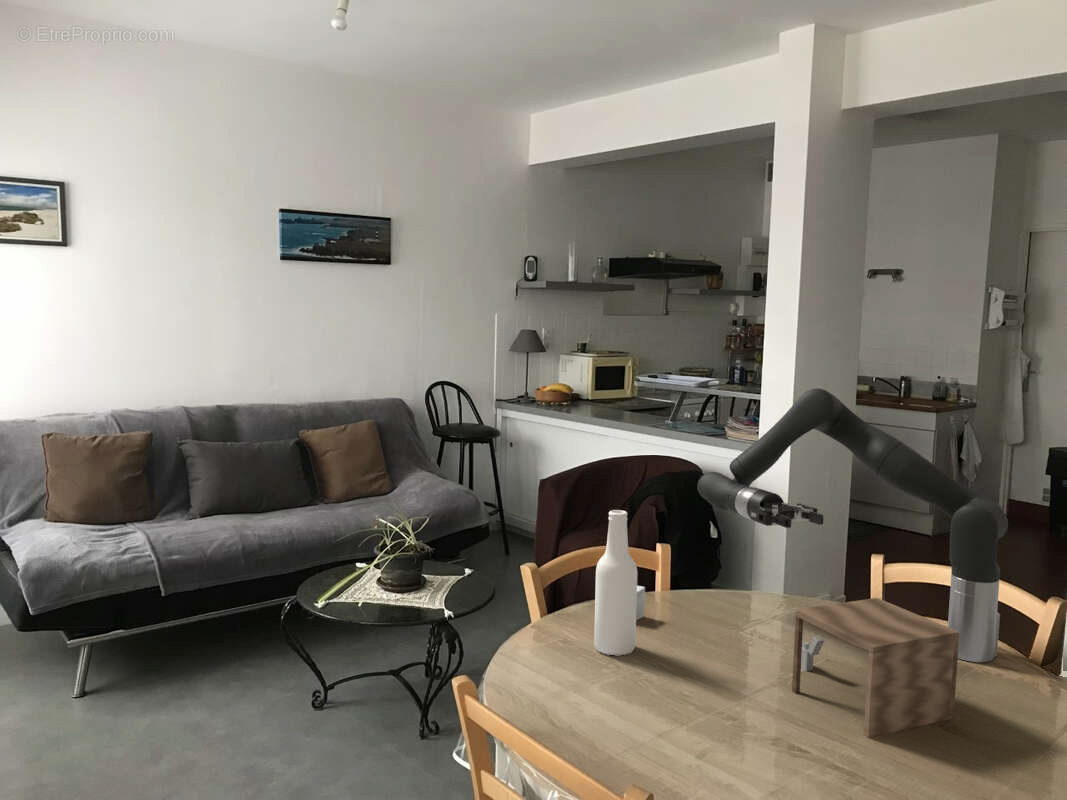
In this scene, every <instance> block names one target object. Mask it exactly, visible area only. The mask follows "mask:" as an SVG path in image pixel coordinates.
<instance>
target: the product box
mask: <svg viewBox="0 0 1067 800" xmlns="http://www.w3.org/2000/svg"><path fill="white" fill-rule="evenodd" d="M645 594H646V587H645V586H643V585H642V586H641V585H637V605H636V620H638V619H640V618H641V619H643V618H644V617H645V602H646V601H645V598H646V595H645ZM643 616H644V617H643ZM642 617H643V618H642ZM641 619H640V620H641ZM638 621H639V620H638Z"/></svg>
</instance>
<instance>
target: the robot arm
mask: <svg viewBox="0 0 1067 800" xmlns="http://www.w3.org/2000/svg"><path fill="white" fill-rule="evenodd" d="M812 430H816V431H818V432H821V433H822V434H824V435H826V436H828V437H830V438H831V439H833V440H835V441H837V442H838V443H839V444H841V445H843V446H844V447H845V448H847V449H848V450H849V451H850V452H851V453H852V454H853V455H854V456H855V457H856V458H857V459H858V460H859V461H860V463H862V464H863V465H864V466H865V467H867V469H869V470H870V471H871V472H872V473H874V474H875V475H876V476H878V477H879V478H880V479H881V480H883V481H884V482H886V483H887V484H888V485H890V486H891V487H893V488H895V489H896V490H899V491H900V492H902V493H904V494H907V495H909V496H912V497H913V498H917V499H919V500H921V501H923V502H926V503H928V504H930V505H932V506H934V507H936V508H937V509H939V510H940V511H942V512H943V513H944V514H946V515H947V516H949V518H950V519H951V523H950V528H949V529H950V535H949V562H950V565H951V574H950V575H951V576H950V589H949V592H950V593H949V601H948V602H949V606H948V615H947V616H948V618H947V619H948V621H947V627H949V628H951V629H953V630H956V631H958V632H959V647H958V659H959V660H962V661H968V662H972V663H988V662H991V661H993V660H994V658H995V657H998V646H999V632H1000V619H1001V618H1000V617H1001V614H1000V613H999V612H998V607H999V606H998V604H999V593H1000V590H999V589H1000V576H1001V568H1000V565H999V564H998V561H997V560H998V544H999V543H998V542H999V541H998V540H999V539H1001V538H1002V537H1003V536H1004V535H1005V534H1006V533H1007V531H1008V526H1009V521H1008V517H1007V515H1006V513H1005V511H1004V510H1003V508H1002V507H1000V506H999V505H998V504H997V503H995V502H994V501H992V500H991V499H988V498H986V496H983V495H981V494H979V493H977V492H976V491H975V490H972V489H970V488H968V487H967V486H965V485H963V484H962V483H960V482H958V481H957V480H956V479H953V477H951V476H950V475H948V474H947V473H946V472H945V471H944V470H942V469H941V468H939V467H938V466H936V465H935V464H933V463H932V462H930V460H928V459H926V458H925V457H923V456H922V455H921V454H920V453H918V452H917V451H915V450H914V449H913V448H911V447H910V446H908V445H907V444H906V443H904V442H903V441H901V440H899V439H898V438H896V437H894V436H892V435H891V434H889V433H887V432H885V431H884V430H881V429H880V428H877V427H875V426H873V425H871V424H869V423H868V422H866V421H864V420H863V419H862V418H860V417H859V416H858V415H857V414H856V413H854V412H853V411H852V410H851V409H850V408H849V407H847V406H846V405H845V404H844V403H843V402H842V401H841V400H840V398H838V397H837V396H836V395H834V394H833V393H831V392H829V391H827V390H826V389H823V388H811V389H809V390H806V391H805V392H804V393H802V395H801V396H800V397H799V398H798V399H797V400H796V401H795V402H794V403H793V405H792V406H791V407H790V408H789V409H788V410H787V412H786V413H785V414H784V415H782V417H781V418H780V419H779V420H778V421H777V422H776V423H775V424H774V425H773V426H772V427H771V428H770V429H769V430H767V432H765V433H764V434H763V435H762V436H761V437H759V439H758V440H755V442H754V443H753V444H751V445H750V446H748V447H747V448H746V449H744V451H742V452H741V453H740V454H739V455H737V457H736V458H734V459H733V460H732V461H731V462H730V464H729V470H730V472H731V474H732V475H733V479H732V478H730V477H728V476H727V475H724V474H723V473H720V472H717V471H710V472H706V473H704V474H702V476H701V477H700V478H699V479H698V482H697V487H696V488H697V491H698V494H699V495H700V496H701V497H702V498H703V499H704V500H706V501H707V503H709V504H710V505H711V506H712V507H714V508H715V509H716V510H718V511H723V512H725V511H731V512H732V513H734V514H737V515H740V516H742V517H744V518H746V519H747V520H750V521H753V522H755V523H758V524H760V525H764V526H766V527H768V526H769V527H770V526H780V527H783V528H786V529H791V528H792V522H795V523H801V522H802V521H803V522H810V523H813V524H815V525H819V526H821V525H823V524H824V515H823V514H822V513H819V512H818V510H819V509H818V508H816V507H813V506H810V505H805V504H803V503H797V504H796V505H795V504H791V503H789V502H788V503H787V502H784V499H783V498H782V497H781V496H780V495H779V494H778V493H774V492H772V491H768V490H766V489H761V488H759V487H753V486H751V484H753V482H755V481H756V480H757V479H758V478H760V477H761V476H763V474H765V473H766V472H767V471H768V470H770V469H771V468H772V467H773V466H774V464H776V463H777V462H778V461H779V460H780V459H781V457H783V456H782V455H783V454H784V453H785V452H786V451H787V450H788V449H789V448H790V446H791V445H792V444H793V443H795V442H796V441H797V440H799V438H801V437H802V436H804V435H805V434H808V432H811V431H812ZM796 516H797V517H796Z"/></svg>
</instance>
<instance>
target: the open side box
mask: <svg viewBox="0 0 1067 800" xmlns="http://www.w3.org/2000/svg"><path fill="white" fill-rule="evenodd" d="M804 621H805V622H808V623H809V624H811V625H813V626H816V627H817V628H819V629H822V630H823V631H826V632H828V633H830V634H832V635H834V636H835V637H837V638H840V639H841V640H844V641H846V642H848V643H849V644H852V645H854V646H856V647H858V648H860V649H862V650H865V651H866V652H868V655H867V657H868V658H867V674H866V690H865V706H864V707H865V709H864V723H863V724H864V725H863V726H864V727H863V736H864V737H865V738H873V737H877V736H882V735H886V734H890V733H895V732H899V731H905V730H909V729H913V728H919V727H921V726H926V725H931V724H934V723H939V722H944V721H948V720H953V719H954V718H955V716H954V715H955V702H956V701H955V700H956V690H957V688H956V686H957V673H958V661H959V660H958V647H959V632H958V631H956V630H953V629H951V628H949V627H948V626H946V625H944V624H941V623H939V622H936V621H934V620H931V619H929V618H927V617H924V616H922V615H919V614H917V613H914V612H912V611H910V610H907V609H905V608H902V607H900V606H898V605H895V604H892V603H890V602H888V601H886V600H883V599H882V598H879V597H874V598H873V597H872V598H867V599H860V600H853V601H852V600H851V601H846V602H841V603H840V602H839V603H832V604H831V603H830V604H826V605H820V606H813V607H811V606H810V607H806V608H805V607H804V608H798V609H796V610H795V621H794V645H793V665H792V666H793V667H792V683H791V684H792V685H791V687H792V688H791V692H792V693H794V694H799V693H801V692H800V691H801V672H802V671H801V670H802V668H801V655H802V641H803V633H804V630H803V629H804Z"/></svg>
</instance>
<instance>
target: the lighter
mask: <svg viewBox="0 0 1067 800" xmlns="http://www.w3.org/2000/svg"><path fill="white" fill-rule="evenodd" d="M824 642H825V640H824V638H823V637H822V636H821V635H815V636H813V638H812V640H811V642H810V643H809V642H807V641H806V640H802V655H801V670H803V671H805V672H811V671H813V670H814V656H818V655H819V654H820V652H821V648H822V647H823V644H824Z"/></svg>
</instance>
